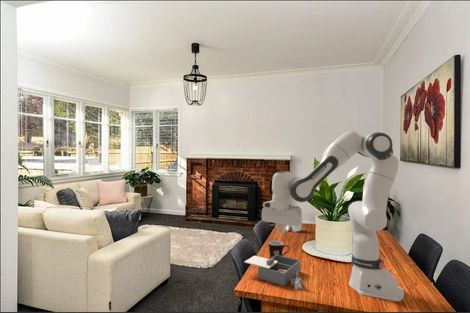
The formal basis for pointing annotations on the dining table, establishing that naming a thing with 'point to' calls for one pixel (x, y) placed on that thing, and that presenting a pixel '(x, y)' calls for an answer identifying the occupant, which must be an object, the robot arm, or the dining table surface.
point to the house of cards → (297, 282)
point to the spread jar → (294, 228)
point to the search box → (279, 277)
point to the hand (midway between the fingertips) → (281, 232)
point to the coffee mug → (276, 248)
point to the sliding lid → (261, 262)
